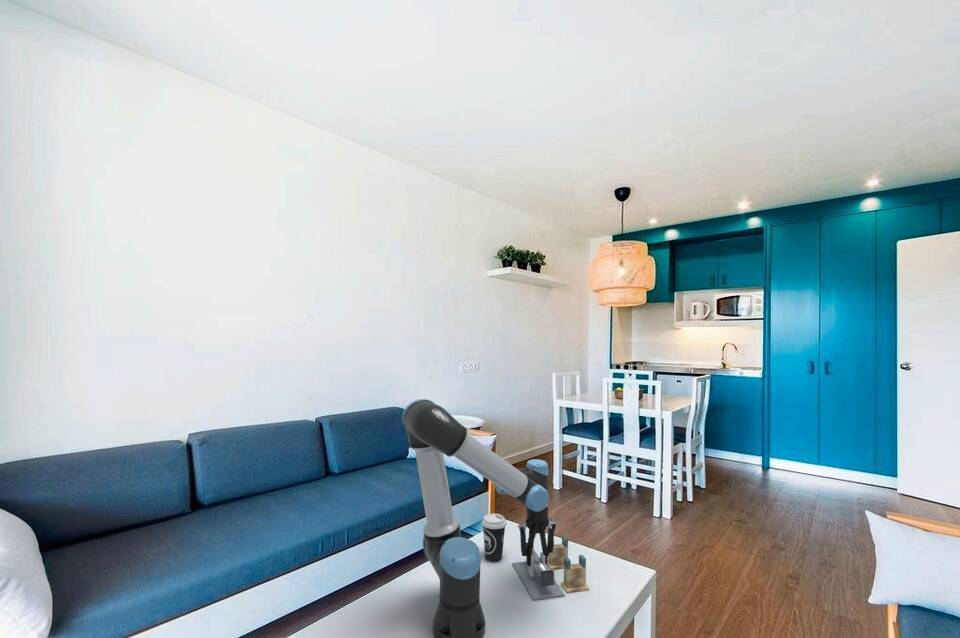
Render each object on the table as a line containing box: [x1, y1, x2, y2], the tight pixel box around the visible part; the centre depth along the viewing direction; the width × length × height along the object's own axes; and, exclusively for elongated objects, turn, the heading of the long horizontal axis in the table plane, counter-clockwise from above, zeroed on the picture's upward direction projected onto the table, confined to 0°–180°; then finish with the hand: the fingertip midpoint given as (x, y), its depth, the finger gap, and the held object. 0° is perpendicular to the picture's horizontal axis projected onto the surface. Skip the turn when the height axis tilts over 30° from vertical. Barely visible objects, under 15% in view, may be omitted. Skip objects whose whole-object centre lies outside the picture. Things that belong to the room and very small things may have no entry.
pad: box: [511, 560, 566, 602], centre depth 148 cm, size 11×22×1 cm, turn 13°
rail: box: [521, 542, 555, 587], centre depth 148 cm, size 20×4×4 cm, turn 13°
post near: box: [560, 554, 590, 594], centre depth 144 cm, size 8×5×10 cm, turn 103°
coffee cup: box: [481, 513, 507, 563], centre depth 162 cm, size 10×10×15 cm
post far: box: [545, 535, 569, 571], centre depth 157 cm, size 8×5×10 cm, turn 103°
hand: (536, 573), depth 148 cm, fingers closed on rail, 4 cm apart
